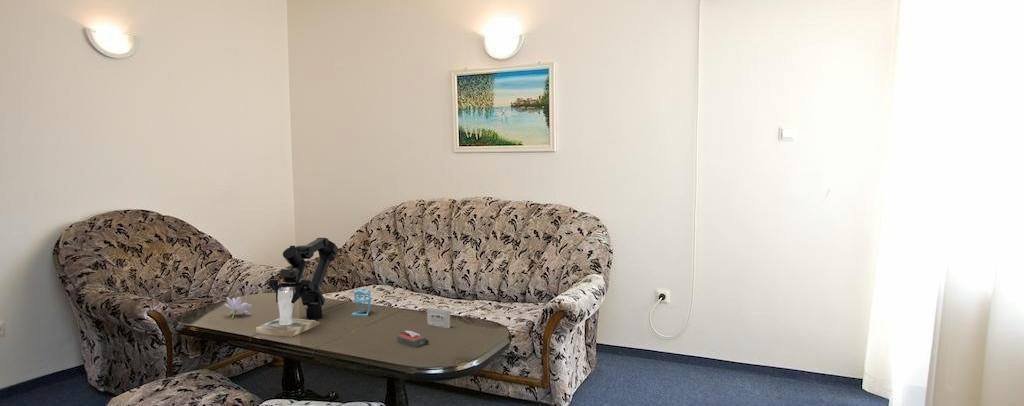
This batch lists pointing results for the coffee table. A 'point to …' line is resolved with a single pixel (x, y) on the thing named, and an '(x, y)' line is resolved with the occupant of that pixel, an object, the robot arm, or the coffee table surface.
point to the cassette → (435, 321)
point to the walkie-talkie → (411, 339)
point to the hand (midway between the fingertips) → (284, 302)
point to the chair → (362, 299)
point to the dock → (286, 327)
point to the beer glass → (286, 305)
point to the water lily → (238, 306)
